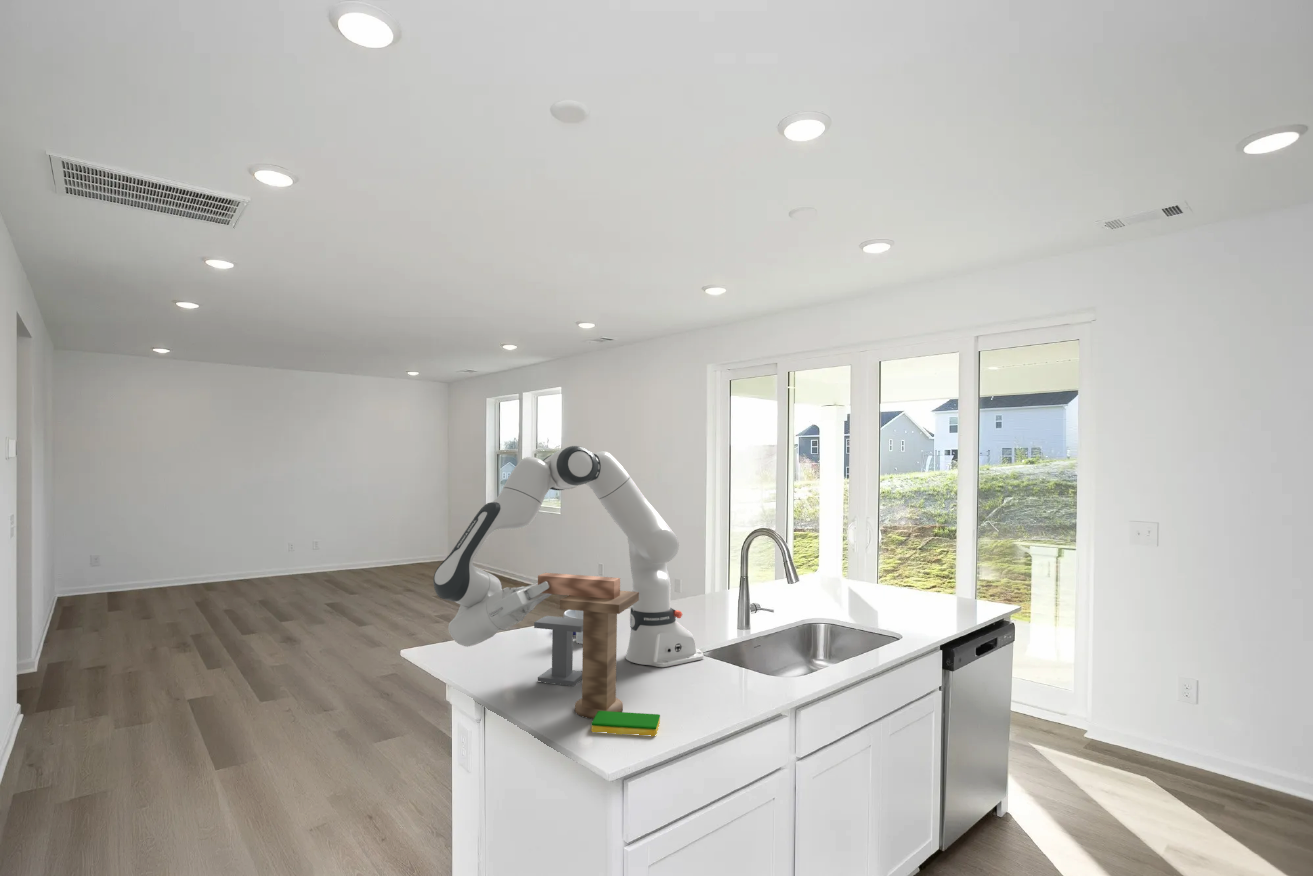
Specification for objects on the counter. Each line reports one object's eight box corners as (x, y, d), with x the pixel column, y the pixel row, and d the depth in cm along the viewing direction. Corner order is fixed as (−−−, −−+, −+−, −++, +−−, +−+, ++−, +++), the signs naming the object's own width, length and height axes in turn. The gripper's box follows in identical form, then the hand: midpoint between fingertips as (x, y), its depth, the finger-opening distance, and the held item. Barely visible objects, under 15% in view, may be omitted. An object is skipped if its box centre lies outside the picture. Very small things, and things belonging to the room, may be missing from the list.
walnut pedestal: (637, 702, 159) (638, 592, 160) (617, 725, 146) (619, 604, 146) (582, 695, 163) (584, 587, 164) (558, 717, 150) (559, 599, 150)
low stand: (591, 676, 177) (592, 619, 177) (579, 687, 169) (580, 627, 169) (546, 671, 180) (546, 615, 181) (532, 681, 173) (533, 622, 173)
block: (619, 595, 156) (620, 578, 156) (613, 598, 152) (614, 581, 152) (545, 589, 161) (545, 572, 161) (537, 592, 157) (537, 575, 158)
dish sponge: (597, 721, 149) (598, 710, 149) (659, 725, 147) (660, 713, 148) (591, 734, 142) (591, 723, 142) (656, 738, 140) (656, 727, 140)
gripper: (479, 604, 152) (527, 577, 149) (522, 587, 172) (565, 562, 169) (491, 630, 151) (540, 603, 148) (533, 609, 171) (577, 585, 168)
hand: (554, 581), depth 158 cm, fingers open, 4 cm apart
